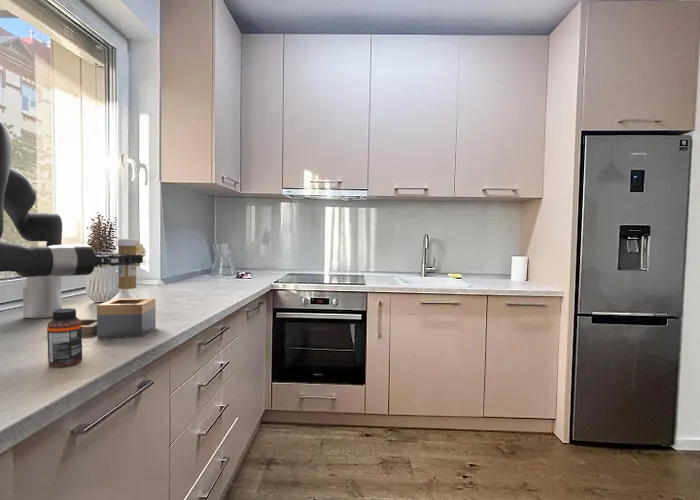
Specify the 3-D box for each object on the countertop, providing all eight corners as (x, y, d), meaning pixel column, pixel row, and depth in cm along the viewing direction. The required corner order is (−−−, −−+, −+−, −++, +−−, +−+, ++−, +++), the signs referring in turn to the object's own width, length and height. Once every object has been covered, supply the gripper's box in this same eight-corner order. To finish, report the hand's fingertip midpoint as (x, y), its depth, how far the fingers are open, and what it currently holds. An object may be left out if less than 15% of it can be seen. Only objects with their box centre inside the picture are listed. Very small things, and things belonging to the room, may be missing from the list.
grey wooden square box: (97, 337, 111) (96, 305, 110) (114, 328, 122) (114, 298, 121) (142, 337, 112) (141, 304, 112) (155, 327, 123) (155, 298, 123)
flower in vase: (114, 314, 143) (113, 239, 142) (100, 309, 150) (99, 238, 149) (152, 308, 153) (152, 239, 152) (137, 305, 160) (137, 238, 160)
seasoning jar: (137, 288, 116) (137, 239, 115) (118, 289, 113) (118, 238, 113) (135, 287, 119) (135, 238, 119) (116, 287, 117) (116, 238, 117)
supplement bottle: (58, 359, 92) (58, 307, 91) (88, 359, 92) (87, 307, 92) (41, 368, 86) (40, 312, 85) (72, 368, 86) (71, 312, 86)
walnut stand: (47, 336, 111) (47, 327, 111) (69, 327, 122) (69, 319, 122) (92, 336, 112) (92, 326, 112) (110, 327, 123) (110, 318, 123)
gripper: (82, 245, 100) (151, 245, 114) (56, 244, 108) (123, 244, 122) (82, 277, 100) (151, 273, 114) (56, 274, 108) (123, 270, 123)
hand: (136, 258), depth 118 cm, fingers closed on seasoning jar, 4 cm apart
